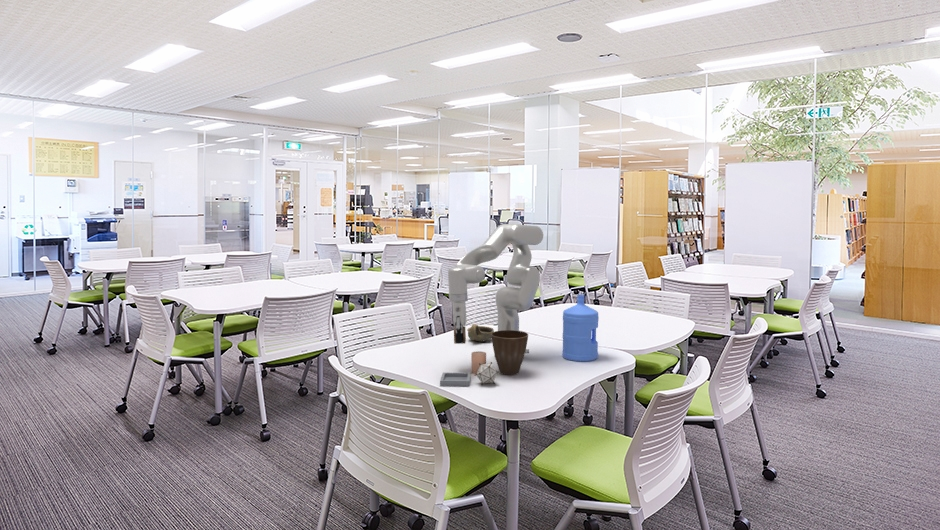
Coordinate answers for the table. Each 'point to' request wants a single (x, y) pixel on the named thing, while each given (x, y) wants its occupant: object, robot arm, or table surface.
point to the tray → (455, 379)
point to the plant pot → (509, 350)
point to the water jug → (580, 332)
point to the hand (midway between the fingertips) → (460, 340)
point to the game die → (486, 373)
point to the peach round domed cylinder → (477, 360)
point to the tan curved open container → (480, 333)
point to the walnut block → (463, 335)
